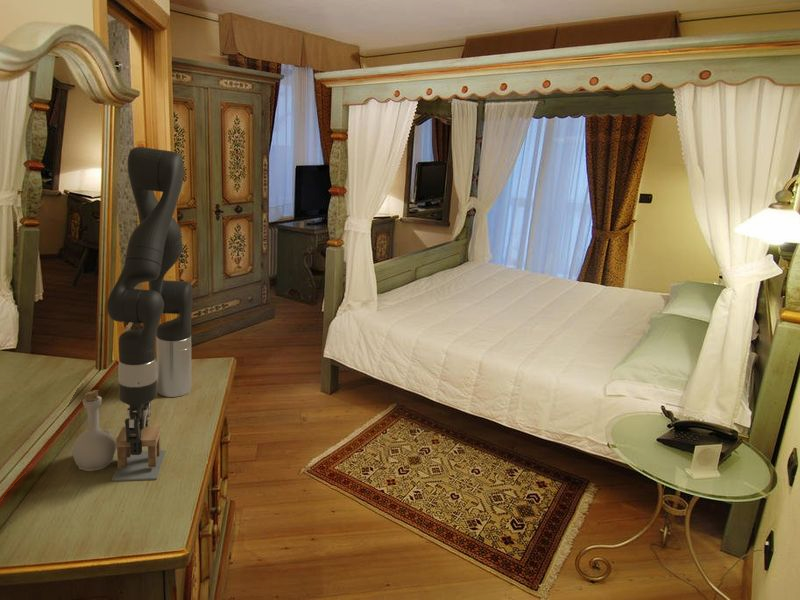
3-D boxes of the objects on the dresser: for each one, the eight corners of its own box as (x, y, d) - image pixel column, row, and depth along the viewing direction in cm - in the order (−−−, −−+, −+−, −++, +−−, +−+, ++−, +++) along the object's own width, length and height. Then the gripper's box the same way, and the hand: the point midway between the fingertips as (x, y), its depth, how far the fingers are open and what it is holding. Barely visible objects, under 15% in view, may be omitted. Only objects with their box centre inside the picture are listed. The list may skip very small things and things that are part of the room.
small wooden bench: (161, 452, 126) (160, 426, 124) (156, 467, 121) (155, 440, 119) (123, 453, 124) (122, 426, 122) (117, 468, 119) (115, 441, 117)
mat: (124, 452, 127) (124, 451, 127) (165, 451, 129) (165, 450, 129) (111, 481, 116) (111, 479, 116) (156, 479, 119) (156, 478, 119)
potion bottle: (98, 477, 117) (94, 403, 112) (63, 468, 119) (57, 395, 114) (126, 456, 126) (123, 386, 120) (92, 448, 127) (89, 378, 122)
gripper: (149, 393, 111) (151, 464, 116) (162, 364, 124) (163, 429, 129) (109, 393, 109) (112, 465, 114) (127, 364, 122) (129, 429, 127)
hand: (139, 445), depth 121 cm, fingers closed on small wooden bench, 6 cm apart
